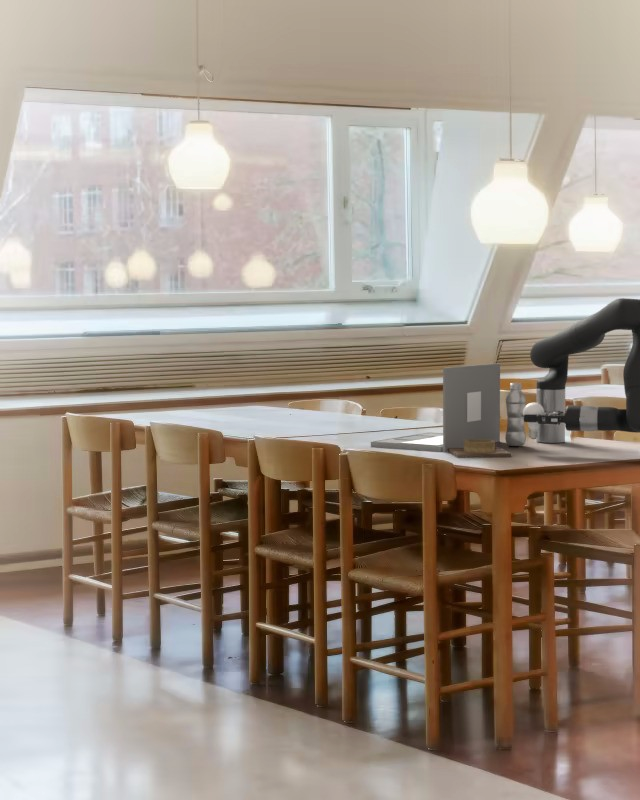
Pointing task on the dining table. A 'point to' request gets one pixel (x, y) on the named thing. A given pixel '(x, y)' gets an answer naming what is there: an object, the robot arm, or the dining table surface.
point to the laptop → (461, 411)
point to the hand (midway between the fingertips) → (525, 417)
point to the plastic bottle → (515, 416)
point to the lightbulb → (533, 410)
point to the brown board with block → (479, 449)
